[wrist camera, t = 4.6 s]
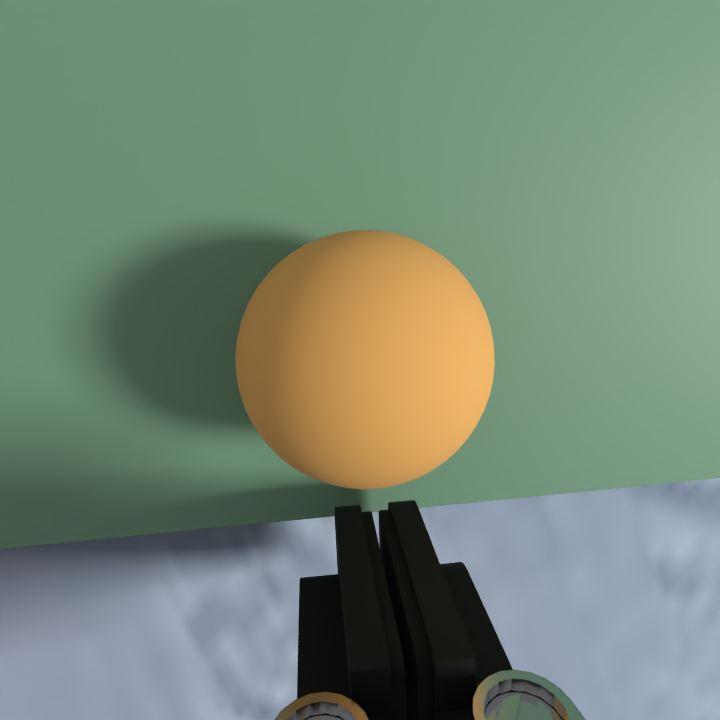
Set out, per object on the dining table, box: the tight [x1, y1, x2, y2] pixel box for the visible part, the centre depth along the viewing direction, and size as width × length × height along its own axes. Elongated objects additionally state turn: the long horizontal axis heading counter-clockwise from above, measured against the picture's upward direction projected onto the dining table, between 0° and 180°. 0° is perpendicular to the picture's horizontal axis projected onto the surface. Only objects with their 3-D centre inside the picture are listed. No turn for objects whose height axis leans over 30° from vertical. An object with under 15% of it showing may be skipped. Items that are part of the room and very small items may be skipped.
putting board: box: [0, 0, 720, 549], centre depth 9 cm, size 20×18×2 cm
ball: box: [235, 230, 495, 489], centre depth 8 cm, size 4×4×4 cm
